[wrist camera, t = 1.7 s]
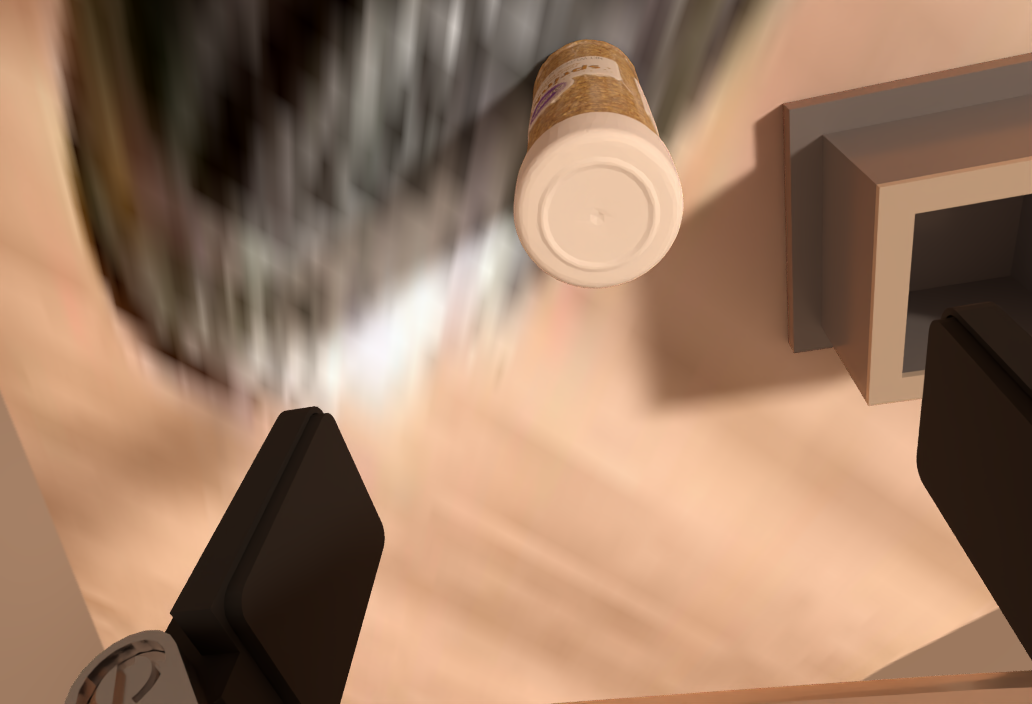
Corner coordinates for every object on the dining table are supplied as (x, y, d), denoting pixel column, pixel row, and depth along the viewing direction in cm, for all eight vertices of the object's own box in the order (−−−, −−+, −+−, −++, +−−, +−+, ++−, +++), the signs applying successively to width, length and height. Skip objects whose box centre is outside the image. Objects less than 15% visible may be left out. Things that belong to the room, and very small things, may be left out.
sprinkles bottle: (562, 17, 28) (560, 97, 17) (661, 69, 29) (721, 179, 18) (514, 121, 31) (484, 253, 19) (606, 167, 31) (630, 319, 20)
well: (783, 103, 29) (840, 158, 23) (1102, 38, 27) (1255, 79, 21) (788, 342, 36) (834, 434, 30) (1048, 303, 34) (1155, 393, 28)
